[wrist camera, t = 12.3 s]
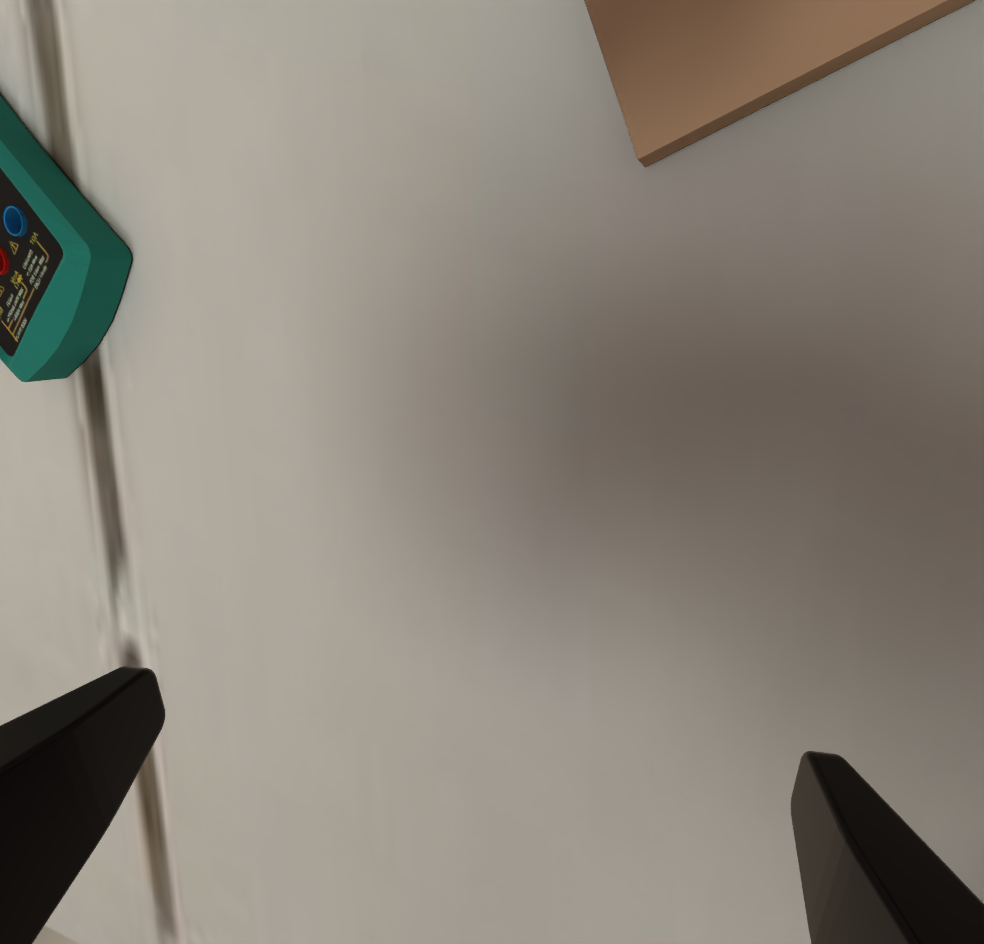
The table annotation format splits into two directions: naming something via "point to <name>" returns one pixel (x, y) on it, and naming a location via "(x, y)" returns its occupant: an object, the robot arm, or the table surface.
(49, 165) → the digital multimeter
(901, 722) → the table surface
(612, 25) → the bottle holder
